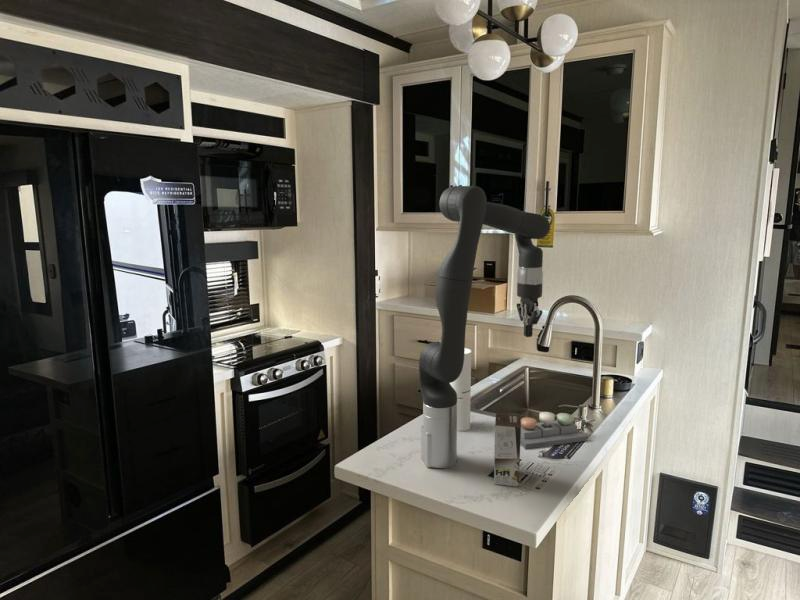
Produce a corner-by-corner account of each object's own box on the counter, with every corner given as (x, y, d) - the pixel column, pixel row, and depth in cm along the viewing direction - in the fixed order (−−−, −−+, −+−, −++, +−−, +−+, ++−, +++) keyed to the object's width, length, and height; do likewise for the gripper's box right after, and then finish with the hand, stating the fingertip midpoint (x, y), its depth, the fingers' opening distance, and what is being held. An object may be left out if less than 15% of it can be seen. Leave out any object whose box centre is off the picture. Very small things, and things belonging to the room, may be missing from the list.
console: (525, 449, 158) (525, 438, 158) (507, 431, 170) (507, 421, 169) (586, 440, 163) (587, 430, 163) (565, 424, 175) (565, 414, 174)
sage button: (561, 430, 165) (562, 419, 164) (553, 424, 169) (554, 413, 168) (574, 428, 166) (575, 417, 165) (566, 422, 170) (567, 412, 169)
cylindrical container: (474, 428, 172) (475, 352, 167) (453, 432, 170) (454, 355, 165) (463, 420, 179) (464, 346, 174) (443, 423, 176) (444, 349, 171)
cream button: (543, 429, 163) (544, 418, 163) (536, 423, 167) (536, 412, 167) (556, 427, 164) (557, 416, 164) (549, 421, 168) (549, 411, 168)
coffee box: (519, 487, 138) (521, 427, 135) (493, 484, 139) (494, 425, 136) (518, 469, 147) (520, 412, 144) (494, 467, 148) (495, 411, 145)
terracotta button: (525, 435, 162) (525, 424, 161) (518, 429, 166) (518, 418, 165) (538, 433, 163) (539, 422, 162) (531, 427, 167) (531, 416, 167)
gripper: (509, 278, 172) (507, 332, 175) (528, 285, 159) (526, 342, 163) (530, 277, 174) (529, 330, 177) (552, 284, 161) (549, 340, 165)
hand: (528, 336), depth 170 cm, fingers closed
